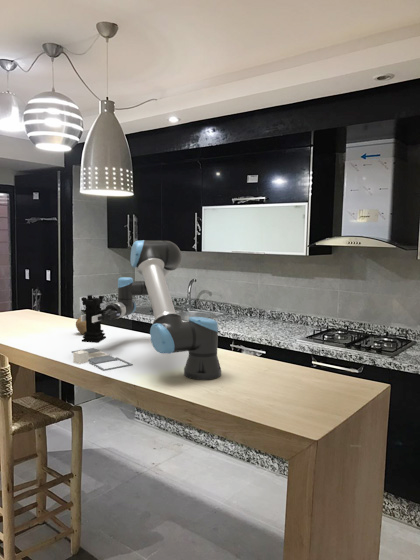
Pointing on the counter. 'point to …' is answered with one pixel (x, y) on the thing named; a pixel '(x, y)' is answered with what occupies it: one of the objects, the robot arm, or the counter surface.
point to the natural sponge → (81, 326)
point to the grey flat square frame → (113, 367)
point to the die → (80, 356)
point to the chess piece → (92, 329)
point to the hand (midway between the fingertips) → (87, 319)
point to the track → (97, 356)
